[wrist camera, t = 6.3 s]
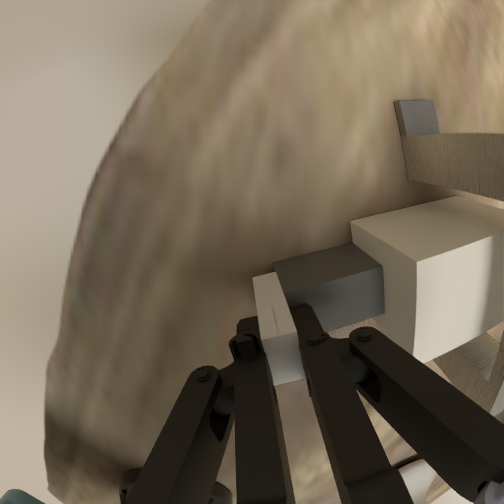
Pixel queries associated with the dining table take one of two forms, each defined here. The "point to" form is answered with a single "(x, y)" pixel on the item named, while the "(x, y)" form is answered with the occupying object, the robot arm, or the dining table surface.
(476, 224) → the plug
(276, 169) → the dining table surface
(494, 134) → the bar
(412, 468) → the flower in vase
